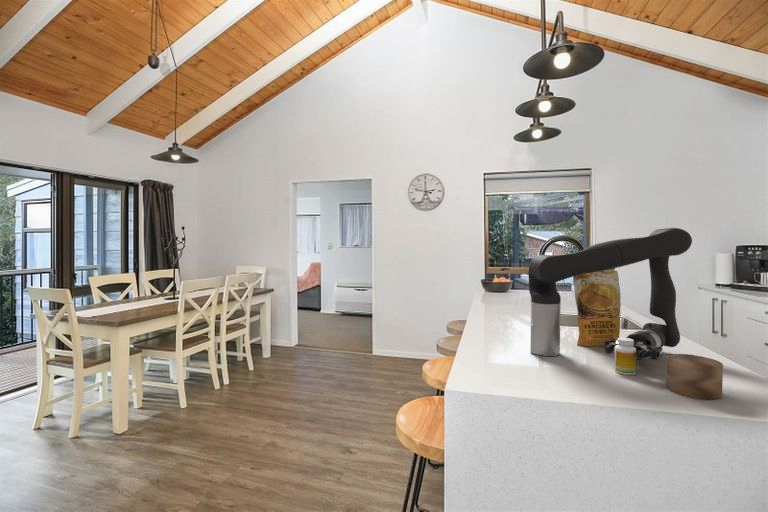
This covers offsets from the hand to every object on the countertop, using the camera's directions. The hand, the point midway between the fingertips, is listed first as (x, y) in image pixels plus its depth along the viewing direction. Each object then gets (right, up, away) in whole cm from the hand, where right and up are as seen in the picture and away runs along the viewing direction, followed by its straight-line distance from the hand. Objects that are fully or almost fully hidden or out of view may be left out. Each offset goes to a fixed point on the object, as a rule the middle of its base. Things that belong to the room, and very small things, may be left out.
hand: (622, 353), depth 110 cm
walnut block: (+10, -7, -12) cm, 17 cm away
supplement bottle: (+2, -6, +2) cm, 7 cm away
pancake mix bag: (+10, -5, +32) cm, 33 cm away
